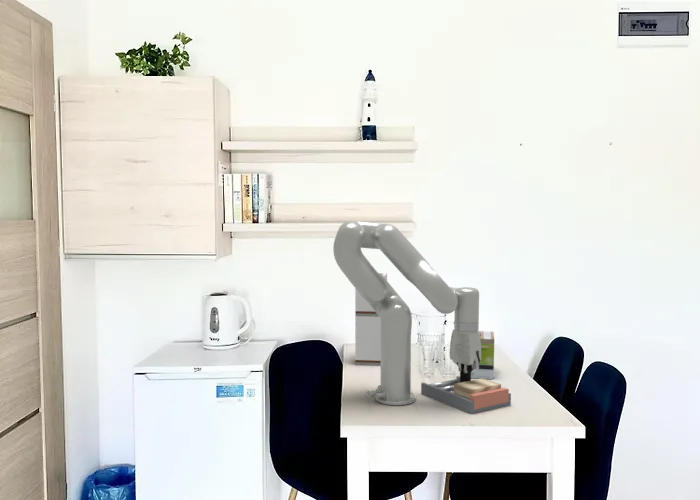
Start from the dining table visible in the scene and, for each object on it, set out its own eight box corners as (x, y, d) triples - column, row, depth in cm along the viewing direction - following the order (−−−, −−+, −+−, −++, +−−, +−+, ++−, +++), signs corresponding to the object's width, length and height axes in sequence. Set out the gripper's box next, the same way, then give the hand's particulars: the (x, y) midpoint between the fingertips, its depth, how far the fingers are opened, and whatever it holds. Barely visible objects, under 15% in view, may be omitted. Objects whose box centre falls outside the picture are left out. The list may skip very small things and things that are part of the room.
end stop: (474, 409, 183) (474, 396, 183) (469, 407, 185) (469, 394, 185) (508, 401, 190) (508, 389, 190) (503, 400, 192) (503, 387, 192)
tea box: (494, 379, 220) (494, 338, 219) (465, 378, 222) (465, 337, 221) (493, 369, 235) (493, 330, 234) (466, 367, 237) (466, 329, 236)
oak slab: (471, 399, 185) (471, 390, 185) (453, 393, 192) (453, 383, 192) (500, 393, 192) (500, 384, 191) (482, 387, 198) (482, 378, 198)
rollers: (471, 407, 185) (471, 401, 185) (426, 389, 204) (426, 383, 204) (501, 400, 192) (501, 394, 192) (454, 383, 210) (454, 378, 210)
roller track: (471, 414, 183) (471, 402, 182) (421, 393, 203) (421, 382, 203) (510, 405, 191) (510, 393, 191) (458, 386, 211) (458, 376, 211)
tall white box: (386, 359, 250) (387, 273, 248) (384, 366, 240) (384, 275, 237) (358, 358, 252) (358, 272, 250) (355, 365, 241) (355, 275, 239)
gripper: (441, 324, 200) (440, 380, 201) (474, 332, 187) (473, 391, 188) (459, 322, 204) (458, 377, 205) (492, 329, 191) (491, 388, 192)
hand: (465, 384), depth 197 cm, fingers closed
